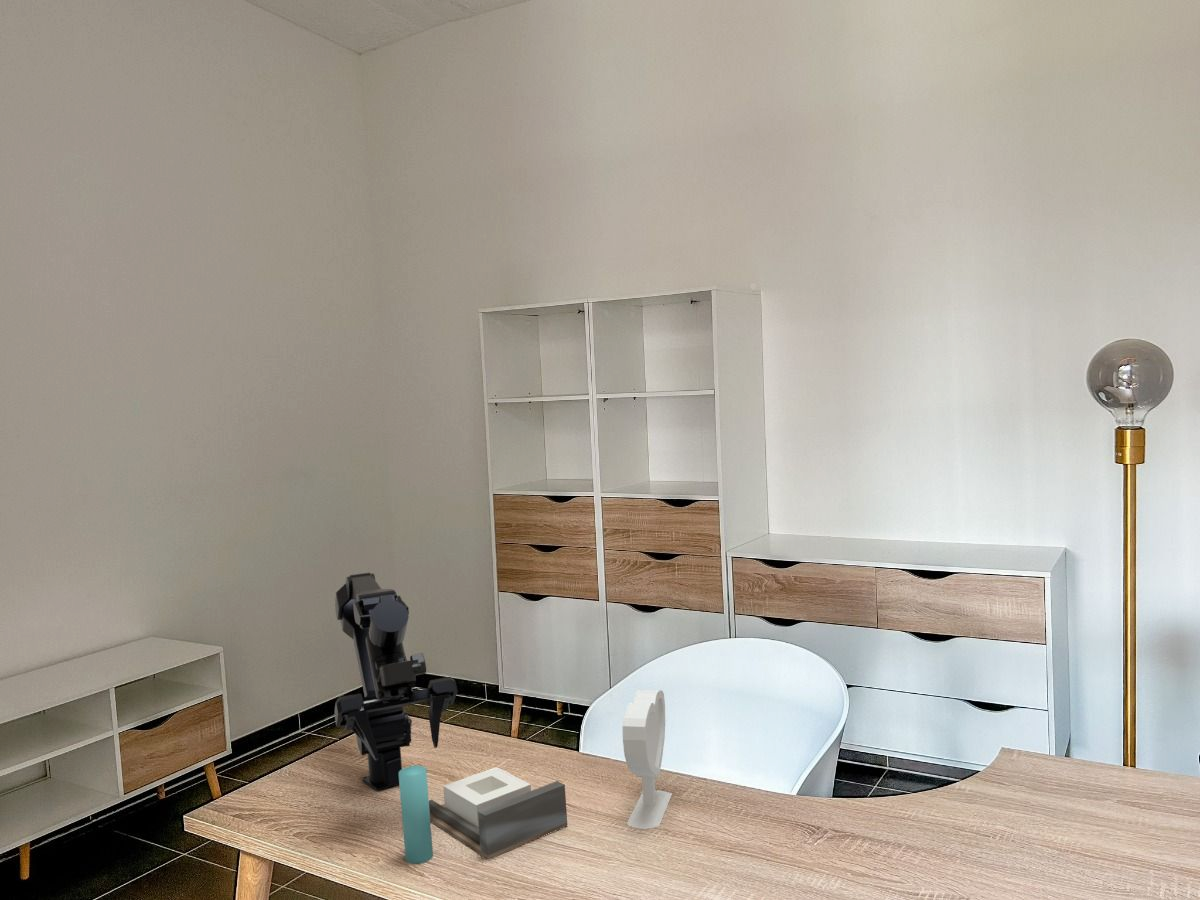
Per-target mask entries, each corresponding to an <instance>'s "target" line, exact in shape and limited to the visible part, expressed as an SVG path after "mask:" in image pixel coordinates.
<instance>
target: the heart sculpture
mask: <svg viewBox="0 0 1200 900" xmlns="http://www.w3.org/2000/svg"><path fill="white" fill-rule="evenodd" d="M665 702H666V701H665V693H664V691H663V690H661V689H658V690H657V689H638V690H636V692H635V694H634V698H633V702H631V701H630V702H629V703H628V705H627V707H626V709H625V713H624V716H623V720H622V744H623V753H624V758H625V761H626V763H625V764H626V766H627V768H628V770H629V771H630V772H631V773H632V774H633V775H635V776H636V777H637V778H641V784H642V792H641V794H640V796H639V798H638V801H637V803H636V804H635V806H634V808H633V811H632V813H631V814H630V817H629V818H628V821H627V823H626V825H627V824H628V825H627V826H629V827H631V826H632V828H634V829H639V828H640V830H644V829H645V830H647V829H653V828H659V827H660V824H661V822H662V820H663V817H664V814H665V812H666V810H667V807H668V804H669V803H670V800H671V798H672V795H673V793H672V792H668V791H665V790H660V789H657V790H656V779H659V778H660V775H661V767H662V760H663V756H664V745H665V737H666V736H665V735H666V703H665Z"/></svg>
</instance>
